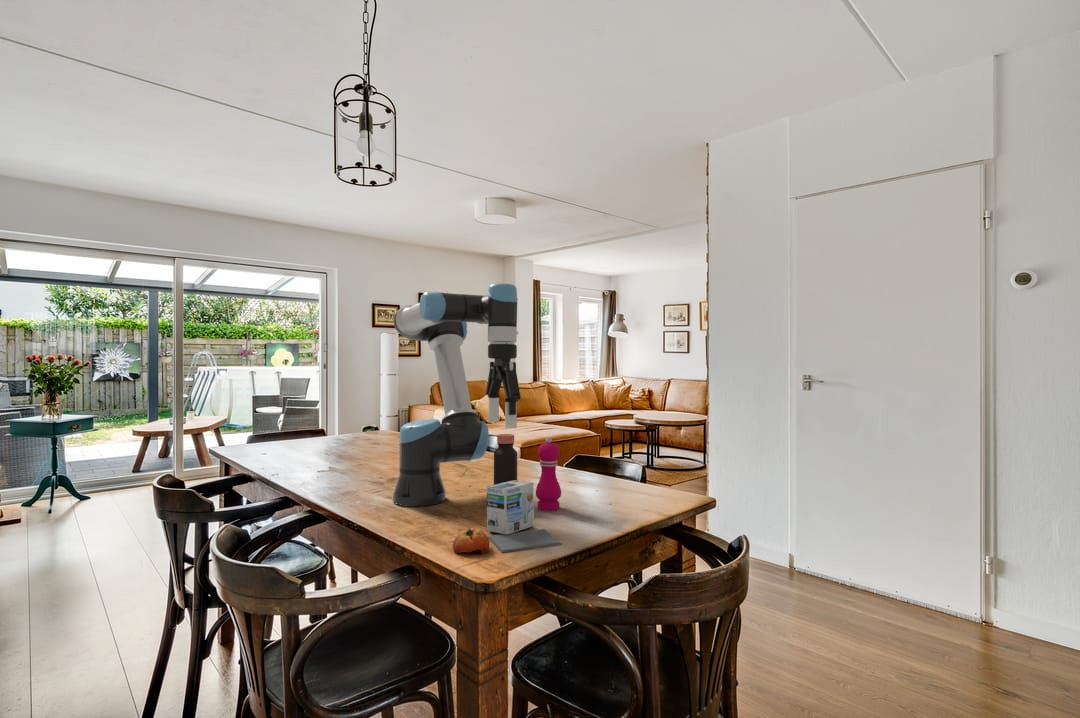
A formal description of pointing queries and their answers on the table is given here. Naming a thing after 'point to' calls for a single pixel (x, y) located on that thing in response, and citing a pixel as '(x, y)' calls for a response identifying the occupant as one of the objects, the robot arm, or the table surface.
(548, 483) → the pepper mill
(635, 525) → the table surface
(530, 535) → the mat
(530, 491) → the light bulb box
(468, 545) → the tomato
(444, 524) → the table surface
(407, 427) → the robot arm
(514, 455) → the bottle
